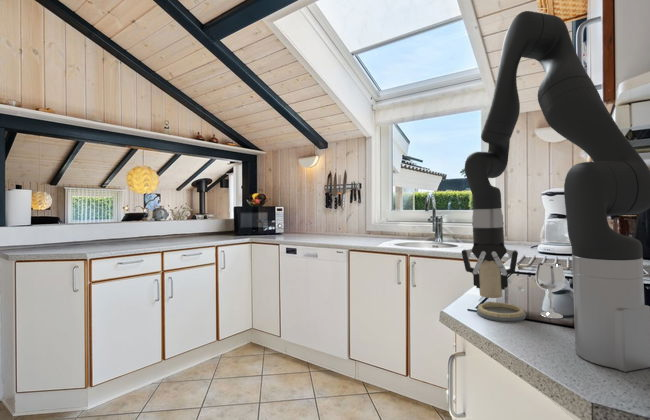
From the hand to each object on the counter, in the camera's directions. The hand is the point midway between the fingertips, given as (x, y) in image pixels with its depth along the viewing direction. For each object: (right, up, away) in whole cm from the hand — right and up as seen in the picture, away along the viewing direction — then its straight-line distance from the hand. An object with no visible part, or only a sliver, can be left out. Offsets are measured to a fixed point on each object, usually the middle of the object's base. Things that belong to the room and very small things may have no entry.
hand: (490, 288), depth 92 cm
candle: (0, -2, 0) cm, 2 cm away
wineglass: (+9, -4, -12) cm, 15 cm away
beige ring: (-2, -4, -10) cm, 11 cm away
